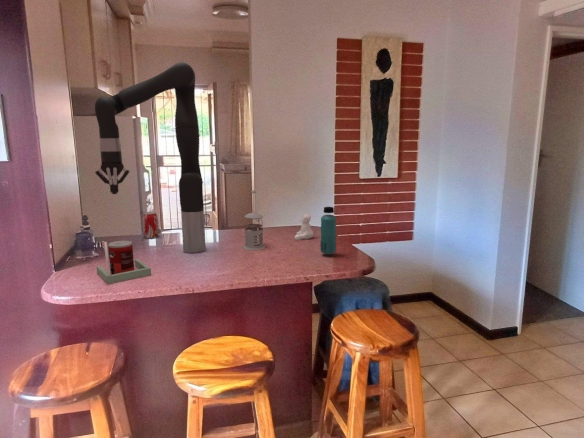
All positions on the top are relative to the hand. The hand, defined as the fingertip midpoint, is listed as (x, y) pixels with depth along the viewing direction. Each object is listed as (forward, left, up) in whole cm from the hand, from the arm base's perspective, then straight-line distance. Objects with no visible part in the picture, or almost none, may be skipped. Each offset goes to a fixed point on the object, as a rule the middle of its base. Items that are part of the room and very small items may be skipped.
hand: (114, 193), depth 166 cm
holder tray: (-6, +27, -25) cm, 37 cm away
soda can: (-10, -26, -25) cm, 38 cm away
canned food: (-5, +26, -25) cm, 37 cm away
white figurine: (-81, -8, -25) cm, 85 cm away
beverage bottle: (-83, +22, -25) cm, 89 cm away
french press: (-56, +2, -25) cm, 61 cm away
